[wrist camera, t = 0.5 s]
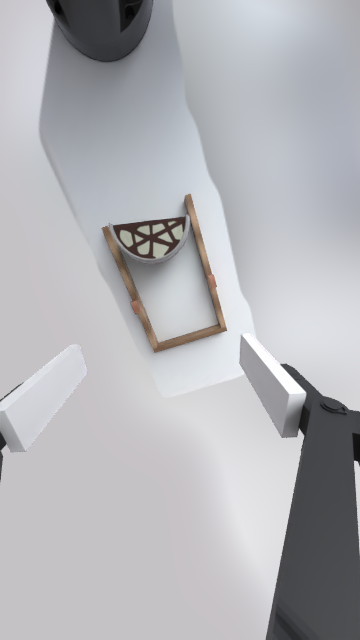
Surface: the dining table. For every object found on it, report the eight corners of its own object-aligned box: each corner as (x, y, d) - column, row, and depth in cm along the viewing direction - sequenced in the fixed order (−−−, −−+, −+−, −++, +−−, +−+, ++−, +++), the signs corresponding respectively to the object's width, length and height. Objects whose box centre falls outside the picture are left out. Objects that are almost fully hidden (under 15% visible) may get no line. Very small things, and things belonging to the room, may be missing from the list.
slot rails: (106, 230, 35) (97, 226, 31) (189, 198, 33) (191, 189, 29) (156, 347, 43) (153, 356, 39) (224, 326, 41) (229, 333, 37)
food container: (131, 266, 37) (114, 268, 27) (124, 233, 35) (105, 223, 25) (190, 259, 37) (194, 259, 27) (187, 226, 35) (190, 213, 25)
